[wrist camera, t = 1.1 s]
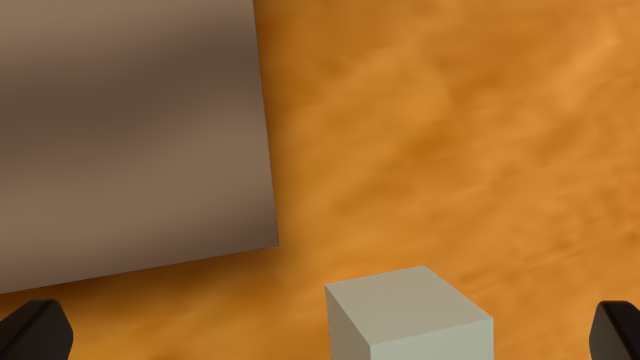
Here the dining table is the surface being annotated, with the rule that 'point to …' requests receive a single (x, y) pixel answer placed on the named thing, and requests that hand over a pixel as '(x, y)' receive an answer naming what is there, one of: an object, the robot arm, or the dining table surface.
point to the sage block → (405, 319)
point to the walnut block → (129, 137)
